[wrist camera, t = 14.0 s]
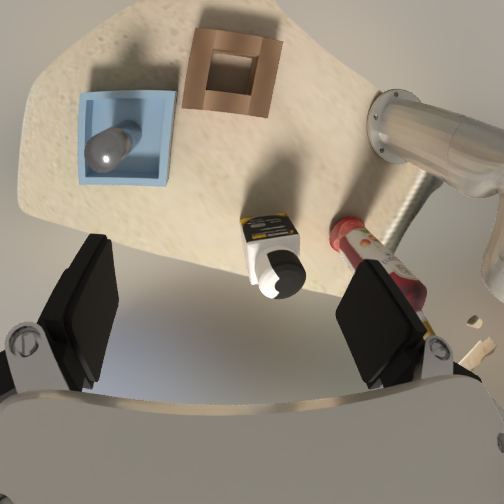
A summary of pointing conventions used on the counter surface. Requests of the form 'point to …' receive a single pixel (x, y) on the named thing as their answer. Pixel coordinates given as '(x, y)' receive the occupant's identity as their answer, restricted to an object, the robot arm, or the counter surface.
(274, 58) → the hole block
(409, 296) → the liquor
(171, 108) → the tray
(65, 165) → the counter surface
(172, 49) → the counter surface
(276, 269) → the medicine bottle
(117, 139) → the peg
